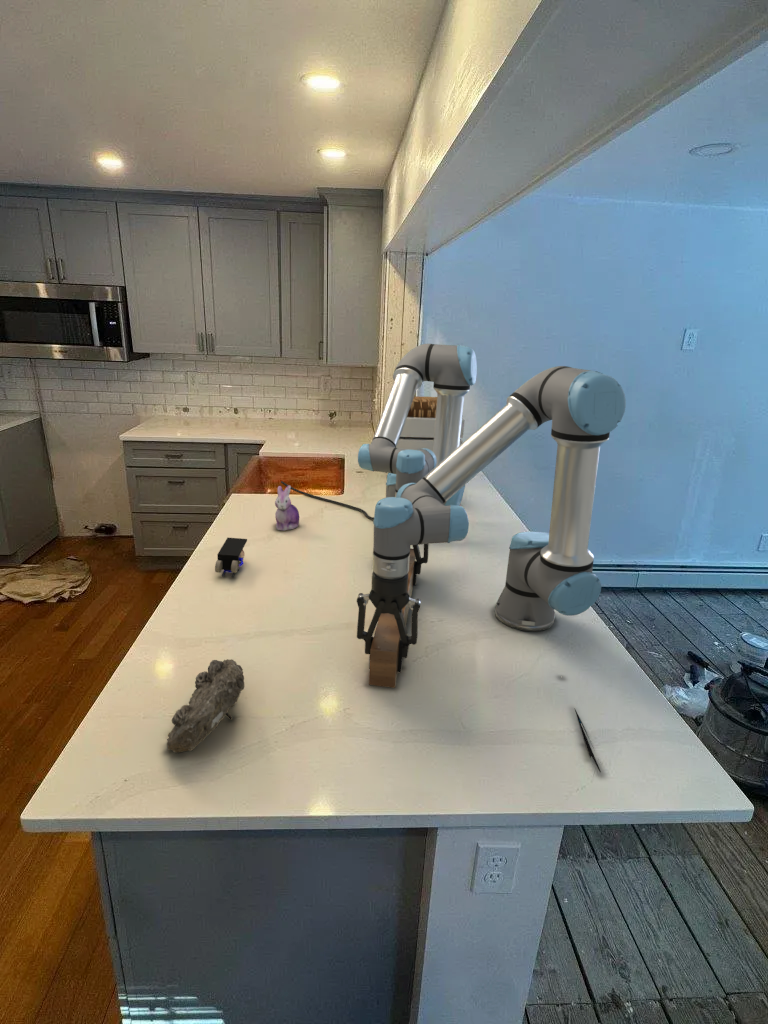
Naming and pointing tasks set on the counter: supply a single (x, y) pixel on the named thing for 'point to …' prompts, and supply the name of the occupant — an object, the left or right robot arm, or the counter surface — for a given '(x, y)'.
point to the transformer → (421, 425)
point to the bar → (388, 642)
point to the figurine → (285, 511)
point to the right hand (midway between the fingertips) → (385, 667)
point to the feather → (587, 741)
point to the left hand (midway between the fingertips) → (403, 582)
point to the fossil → (206, 705)
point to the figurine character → (230, 556)
